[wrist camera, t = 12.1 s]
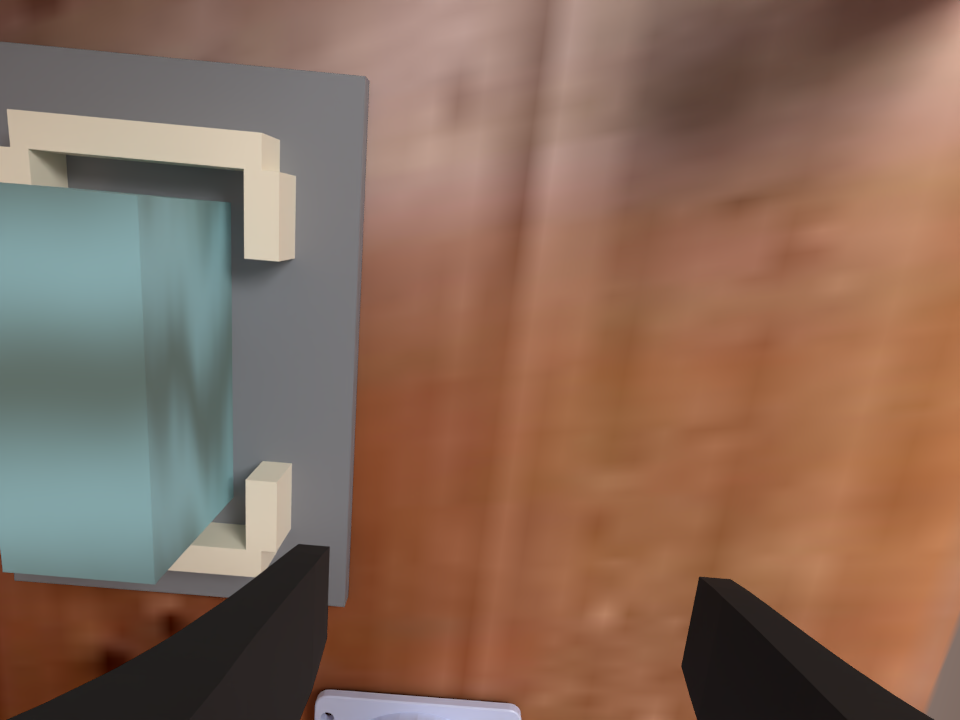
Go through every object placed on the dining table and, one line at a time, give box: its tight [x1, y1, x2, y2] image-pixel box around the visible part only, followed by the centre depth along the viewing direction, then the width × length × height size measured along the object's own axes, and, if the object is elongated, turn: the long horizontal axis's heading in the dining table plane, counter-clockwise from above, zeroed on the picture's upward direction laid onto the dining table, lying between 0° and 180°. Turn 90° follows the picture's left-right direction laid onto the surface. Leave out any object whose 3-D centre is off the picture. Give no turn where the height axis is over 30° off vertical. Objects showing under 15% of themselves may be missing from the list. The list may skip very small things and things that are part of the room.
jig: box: [0, 42, 369, 607], centre depth 19 cm, size 18×12×2 cm, turn 175°
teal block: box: [0, 182, 233, 584], centre depth 17 cm, size 10×4×5 cm, turn 175°
